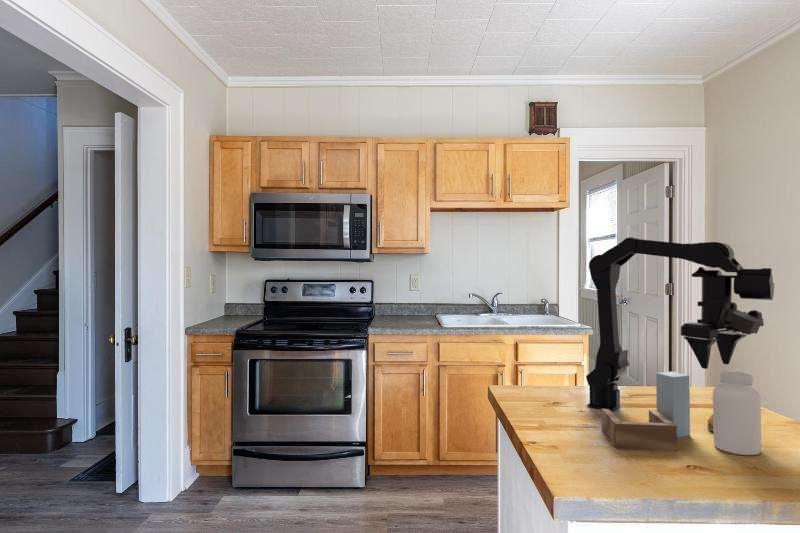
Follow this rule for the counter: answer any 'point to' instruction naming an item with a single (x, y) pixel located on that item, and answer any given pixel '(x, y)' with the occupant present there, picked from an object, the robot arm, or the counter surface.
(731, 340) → the robot arm
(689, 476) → the counter surface
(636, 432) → the brown wooden tray
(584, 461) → the counter surface
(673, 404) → the block
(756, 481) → the counter surface
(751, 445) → the pill bottle
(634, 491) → the counter surface
